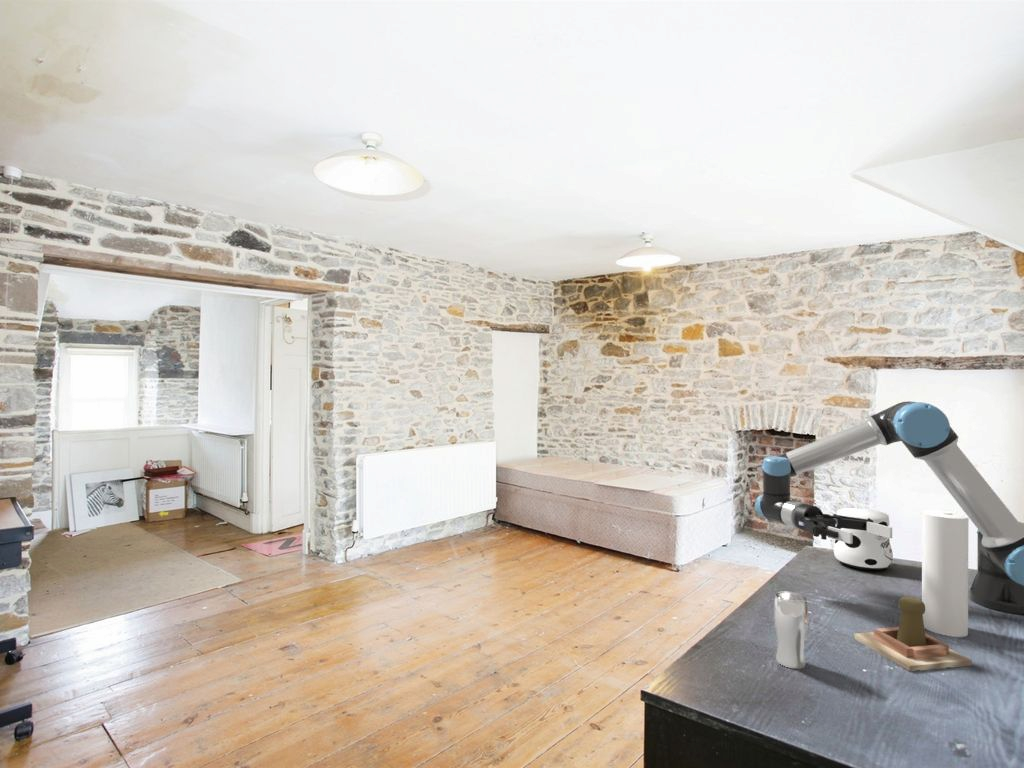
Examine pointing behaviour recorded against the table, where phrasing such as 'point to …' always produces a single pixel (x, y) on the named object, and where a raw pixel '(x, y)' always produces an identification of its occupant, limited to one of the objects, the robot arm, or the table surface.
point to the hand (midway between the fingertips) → (871, 535)
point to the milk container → (864, 543)
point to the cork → (911, 622)
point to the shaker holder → (912, 651)
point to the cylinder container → (945, 572)
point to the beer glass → (790, 628)
